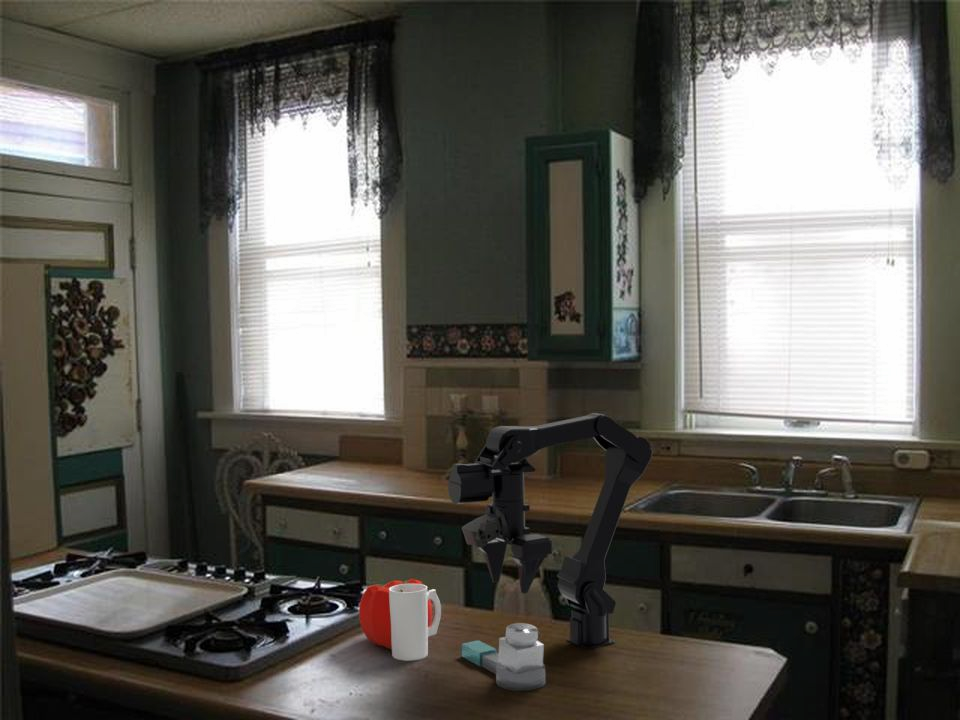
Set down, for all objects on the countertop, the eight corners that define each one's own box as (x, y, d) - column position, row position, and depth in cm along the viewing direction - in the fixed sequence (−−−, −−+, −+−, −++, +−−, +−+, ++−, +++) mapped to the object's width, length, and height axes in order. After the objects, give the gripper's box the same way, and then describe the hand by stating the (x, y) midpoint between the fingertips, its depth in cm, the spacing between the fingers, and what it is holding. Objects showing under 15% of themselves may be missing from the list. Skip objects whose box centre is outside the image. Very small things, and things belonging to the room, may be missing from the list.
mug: (403, 664, 173) (401, 594, 173) (383, 655, 179) (381, 587, 179) (452, 652, 179) (450, 585, 179) (431, 644, 184) (429, 578, 184)
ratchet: (450, 659, 176) (449, 627, 175) (489, 651, 180) (488, 619, 180) (513, 694, 158) (513, 658, 158) (555, 684, 163) (554, 649, 162)
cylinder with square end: (524, 655, 167) (526, 620, 167) (542, 668, 163) (544, 632, 162) (498, 661, 165) (500, 626, 164) (515, 674, 160) (517, 638, 160)
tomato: (386, 661, 174) (384, 593, 174) (346, 643, 186) (344, 579, 186) (449, 646, 182) (447, 581, 182) (407, 629, 194) (406, 568, 194)
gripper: (441, 496, 180) (443, 583, 181) (497, 512, 164) (499, 607, 165) (494, 490, 186) (496, 574, 186) (553, 504, 170) (555, 596, 171)
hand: (509, 587), depth 177 cm, fingers open, 9 cm apart
